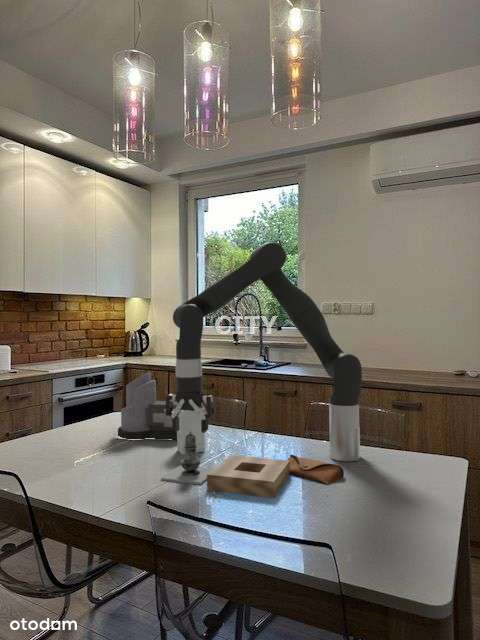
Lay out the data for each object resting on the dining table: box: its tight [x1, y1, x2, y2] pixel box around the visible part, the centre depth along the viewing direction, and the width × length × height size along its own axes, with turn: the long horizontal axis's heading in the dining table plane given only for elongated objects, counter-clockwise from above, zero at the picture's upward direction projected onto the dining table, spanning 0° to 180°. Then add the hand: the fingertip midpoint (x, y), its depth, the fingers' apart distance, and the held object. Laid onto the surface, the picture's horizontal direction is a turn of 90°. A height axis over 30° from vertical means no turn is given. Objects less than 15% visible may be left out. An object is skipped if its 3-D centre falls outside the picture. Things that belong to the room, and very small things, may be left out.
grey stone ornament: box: [179, 431, 202, 476], centre depth 131 cm, size 6×6×12 cm
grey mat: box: [160, 464, 215, 486], centre depth 131 cm, size 12×12×1 cm
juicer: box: [117, 371, 178, 440], centre depth 177 cm, size 30×16×24 cm, turn 79°
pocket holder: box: [206, 454, 291, 499], centre depth 126 cm, size 18×18×4 cm
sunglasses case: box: [287, 454, 345, 486], centre depth 132 cm, size 18×7×7 cm
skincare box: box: [176, 410, 206, 456], centre depth 155 cm, size 8×6×15 cm
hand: (190, 431), depth 131 cm, fingers open, 8 cm apart
